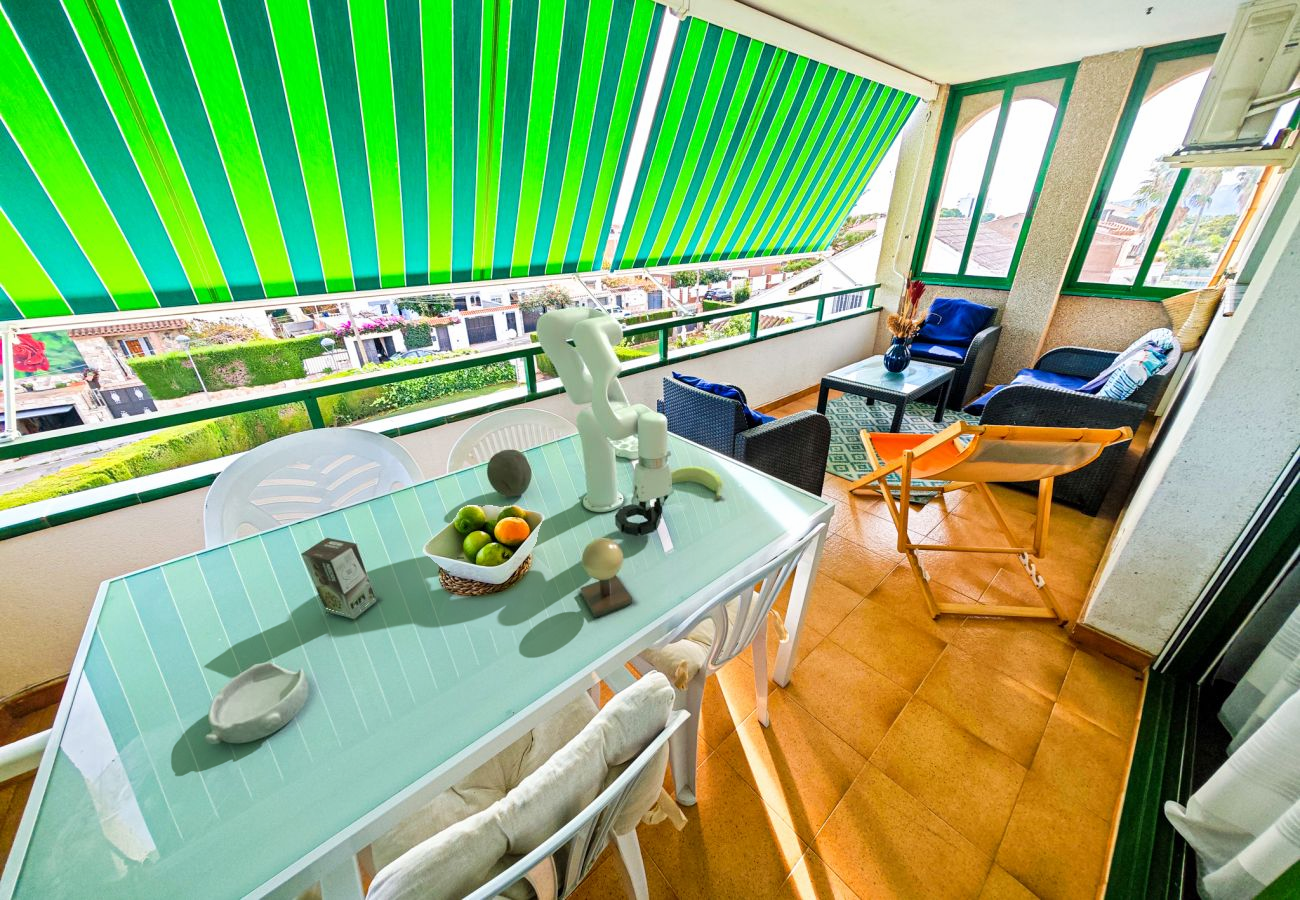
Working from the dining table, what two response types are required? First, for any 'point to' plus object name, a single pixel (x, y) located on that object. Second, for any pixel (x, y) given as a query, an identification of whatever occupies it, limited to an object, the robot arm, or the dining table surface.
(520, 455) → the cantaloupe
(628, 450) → the white disc with holes
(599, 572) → the ball stand
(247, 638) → the dining table surface
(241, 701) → the dish
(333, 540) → the coffee box
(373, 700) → the dining table surface
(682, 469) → the banana
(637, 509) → the ring
